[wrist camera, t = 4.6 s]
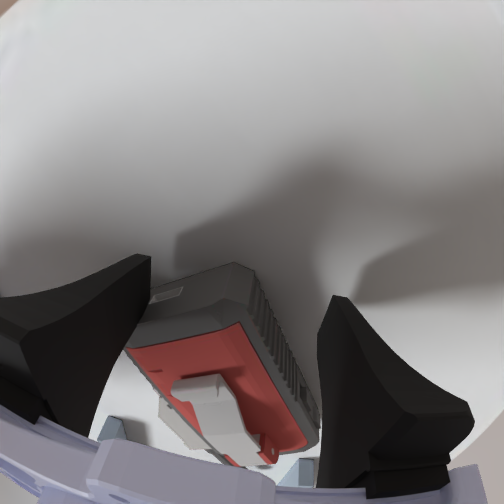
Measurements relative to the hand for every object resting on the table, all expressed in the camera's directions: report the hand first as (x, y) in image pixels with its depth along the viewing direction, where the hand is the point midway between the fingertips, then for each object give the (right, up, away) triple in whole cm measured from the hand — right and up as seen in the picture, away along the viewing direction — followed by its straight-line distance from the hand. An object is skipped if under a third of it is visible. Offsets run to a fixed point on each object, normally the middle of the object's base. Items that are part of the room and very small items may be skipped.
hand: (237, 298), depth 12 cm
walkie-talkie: (0, -7, +6) cm, 9 cm away
